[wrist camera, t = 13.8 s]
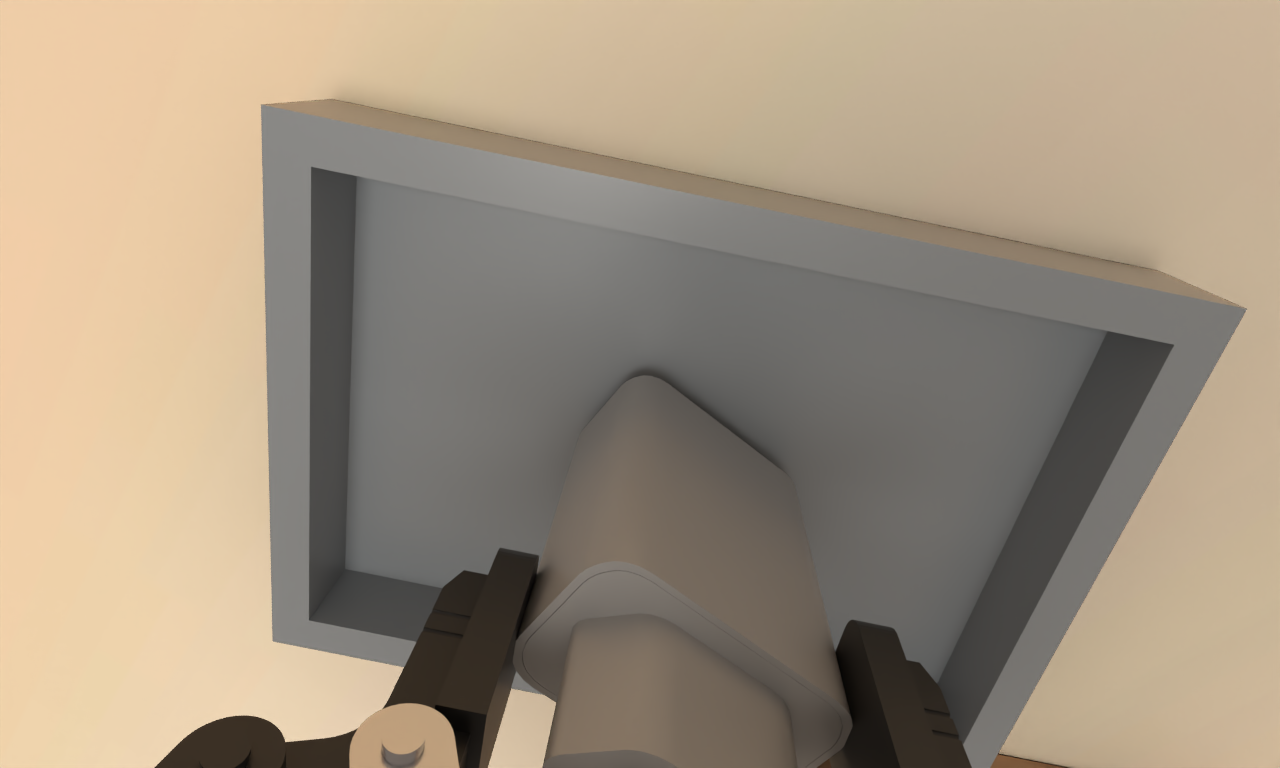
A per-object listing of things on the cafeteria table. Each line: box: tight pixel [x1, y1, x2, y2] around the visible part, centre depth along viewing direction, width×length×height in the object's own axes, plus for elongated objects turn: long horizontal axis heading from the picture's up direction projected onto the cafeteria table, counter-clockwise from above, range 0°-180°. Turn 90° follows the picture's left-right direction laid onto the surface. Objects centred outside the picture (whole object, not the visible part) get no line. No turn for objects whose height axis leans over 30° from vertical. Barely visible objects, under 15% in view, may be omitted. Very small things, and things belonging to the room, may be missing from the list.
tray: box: [261, 99, 1247, 768], centre depth 19 cm, size 20×14×3 cm
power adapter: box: [513, 375, 853, 768], centre depth 13 cm, size 3×5×12 cm, turn 51°
